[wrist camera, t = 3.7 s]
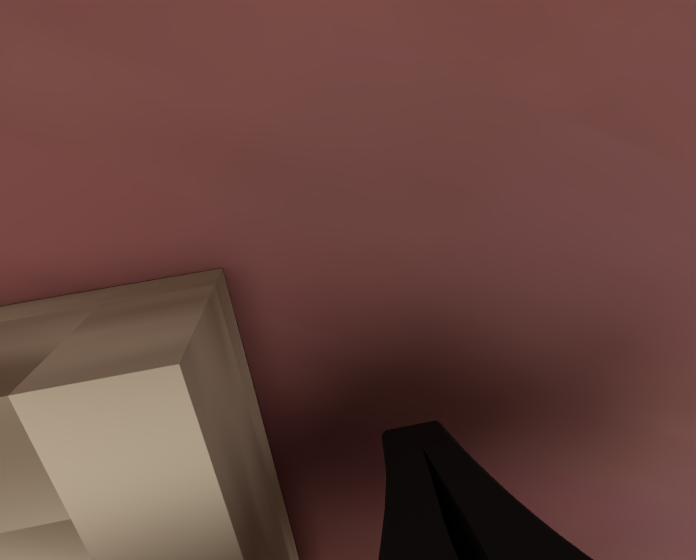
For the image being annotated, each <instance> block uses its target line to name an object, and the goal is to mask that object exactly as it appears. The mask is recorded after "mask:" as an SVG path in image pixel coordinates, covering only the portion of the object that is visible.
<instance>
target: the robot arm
mask: <svg viewBox="0 0 696 560" xmlns="http://www.w3.org/2000/svg"><path fill="white" fill-rule="evenodd" d="M381 436H382V443H383V451H384V458H385V465H386V495H385V512H384V521H383V529H382V538H381V546H380V553H379V560H593V559H592V558H590V557H589V556H587V555H586V554H585V553H583V552H582V551H580V550H579V549H578V548H576V547H575V546H574V545H572V544H571V543H570V542H568V541H567V540H566V539H564V538H563V537H562V536H560V535H559V534H558V533H557V532H555V531H554V530H553V529H551V528H550V527H549V526H548V525H546V524H545V523H544V522H543V521H542V520H540V519H539V518H538V517H537V516H535V515H534V514H533V513H532V512H531V511H530V510H528V509H527V508H526V507H525V506H524V505H522V504H521V503H520V502H519V501H518V500H517V499H516V498H514V497H513V496H512V495H511V494H510V493H509V492H508V491H507V490H505V489H504V488H503V487H502V486H501V485H500V484H499V483H498V482H497V481H496V480H495V479H494V478H493V477H492V476H491V475H489V474H488V473H487V472H486V471H485V470H484V469H483V468H482V467H481V466H480V465H479V464H478V463H477V462H476V461H475V460H474V459H473V458H472V457H471V456H470V455H469V454H468V453H467V452H466V451H465V450H464V449H463V448H462V447H461V446H460V444H459V443H458V442H457V441H456V440H455V439H454V438H453V437H452V436H451V435H450V434H449V432H448V431H447V430H446V429H445V428H444V427H443V426H442V424H441V423H439V422H438V421H432V422H426V423H421V424H416V425H411V426H406V427H401V428H396V429H391V430H386V431H385V432H384V433H383V434H382V435H381Z"/></svg>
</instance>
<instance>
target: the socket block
mask: <svg viewBox="0 0 696 560" xmlns="http://www.w3.org/2000/svg"><path fill="white" fill-rule="evenodd" d="M0 560H299V558H298V554H297V550H296V546H295V542H294V539H293V535H292V531H291V527H290V523H289V520H288V516H287V512H286V508H285V504H284V501H283V497H282V493H281V489H280V485H279V482H278V478H277V474H276V470H275V466H274V463H273V459H272V455H271V451H270V447H269V444H268V440H267V436H266V432H265V428H264V425H263V421H262V417H261V413H260V409H259V406H258V402H257V398H256V394H255V390H254V387H253V383H252V379H251V375H250V371H249V368H248V364H247V360H246V356H245V352H244V349H243V345H242V341H241V337H240V333H239V330H238V326H237V322H236V318H235V314H234V311H233V307H232V303H231V299H230V295H229V292H228V288H227V284H226V280H225V276H224V273H223V269H222V268H220V269H214V270H209V271H203V272H197V273H191V274H186V275H180V276H174V277H168V278H162V279H157V280H151V281H145V282H139V283H133V284H128V285H122V286H116V287H110V288H105V289H99V290H93V291H87V292H81V293H76V294H70V295H64V296H58V297H52V298H47V299H41V300H35V301H29V302H24V303H18V304H12V305H6V306H0Z"/></svg>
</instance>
